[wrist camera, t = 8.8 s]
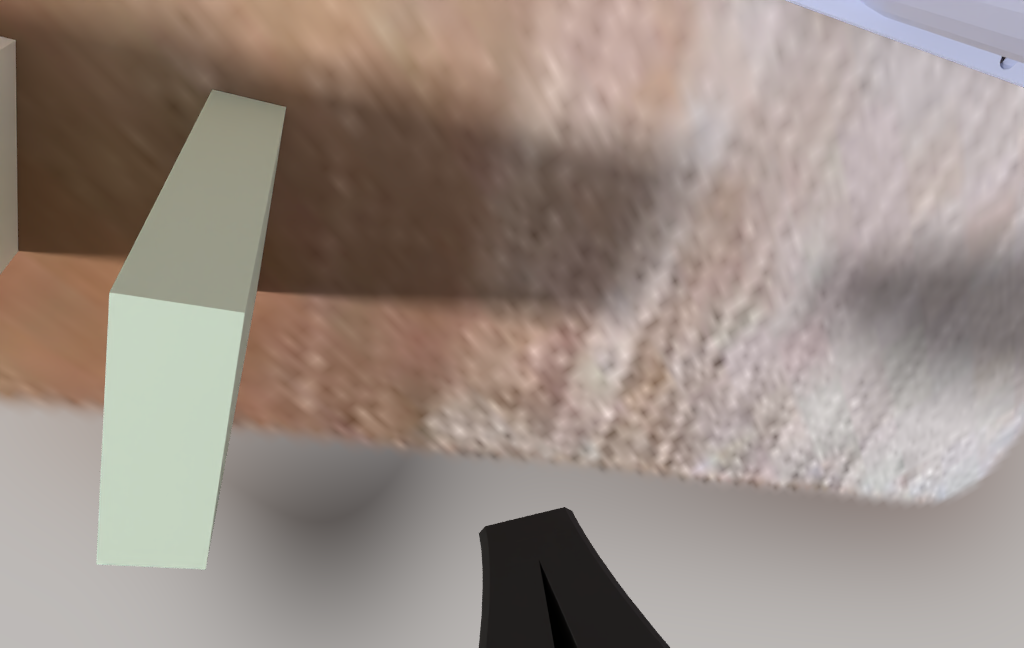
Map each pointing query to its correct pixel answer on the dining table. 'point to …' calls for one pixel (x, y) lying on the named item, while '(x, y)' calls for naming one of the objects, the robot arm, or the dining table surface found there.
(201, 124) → the sage domino
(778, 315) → the dining table surface
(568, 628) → the robot arm
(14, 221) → the domino
